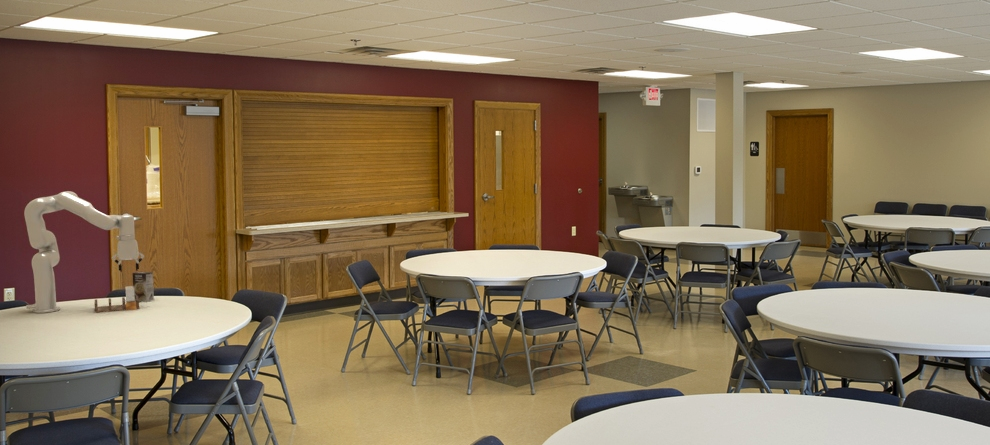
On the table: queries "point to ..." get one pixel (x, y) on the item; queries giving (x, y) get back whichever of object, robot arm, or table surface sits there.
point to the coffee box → (143, 286)
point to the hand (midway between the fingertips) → (129, 271)
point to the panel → (130, 294)
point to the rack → (117, 306)
